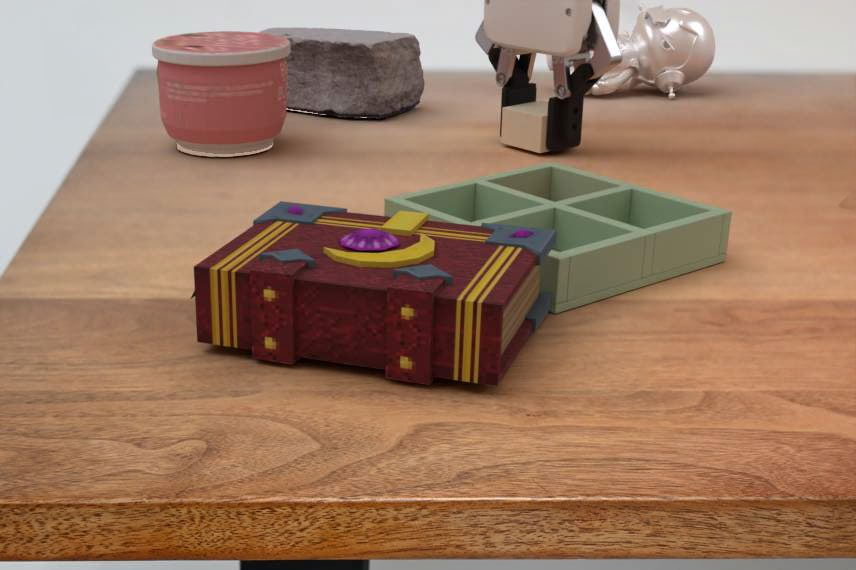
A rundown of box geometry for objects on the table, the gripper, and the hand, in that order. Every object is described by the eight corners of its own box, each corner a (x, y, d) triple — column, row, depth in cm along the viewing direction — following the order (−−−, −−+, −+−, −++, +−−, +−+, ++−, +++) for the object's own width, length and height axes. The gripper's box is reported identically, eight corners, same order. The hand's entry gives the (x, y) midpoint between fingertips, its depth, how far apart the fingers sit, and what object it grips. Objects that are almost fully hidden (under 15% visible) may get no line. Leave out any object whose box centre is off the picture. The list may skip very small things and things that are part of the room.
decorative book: (499, 399, 55) (505, 292, 53) (170, 350, 60) (164, 251, 58) (551, 312, 65) (557, 219, 63) (264, 276, 70) (262, 189, 68)
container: (214, 125, 105) (210, 27, 102) (318, 141, 99) (317, 38, 96) (129, 150, 97) (122, 45, 94) (237, 169, 91) (233, 58, 88)
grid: (548, 206, 82) (551, 161, 81) (726, 261, 72) (732, 210, 71) (383, 246, 75) (384, 197, 74) (555, 314, 65) (559, 258, 63)
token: (538, 135, 100) (541, 100, 99) (578, 144, 97) (580, 108, 96) (500, 143, 98) (502, 107, 96) (539, 153, 94) (542, 116, 93)
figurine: (540, 1, 114) (703, -33, 114) (535, 49, 121) (689, 17, 120) (570, 98, 110) (739, 63, 110) (563, 142, 117) (722, 109, 117)
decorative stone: (421, 127, 105) (425, 97, 114) (422, 43, 102) (426, 20, 111) (247, 125, 107) (265, 96, 116) (243, 43, 104) (262, 20, 113)
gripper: (682, -109, 86) (657, 155, 93) (509, -115, 98) (498, 117, 105) (608, -104, 82) (587, 171, 89) (436, -111, 94) (431, 130, 101)
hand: (539, 139), depth 97 cm, fingers closed on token, 4 cm apart
